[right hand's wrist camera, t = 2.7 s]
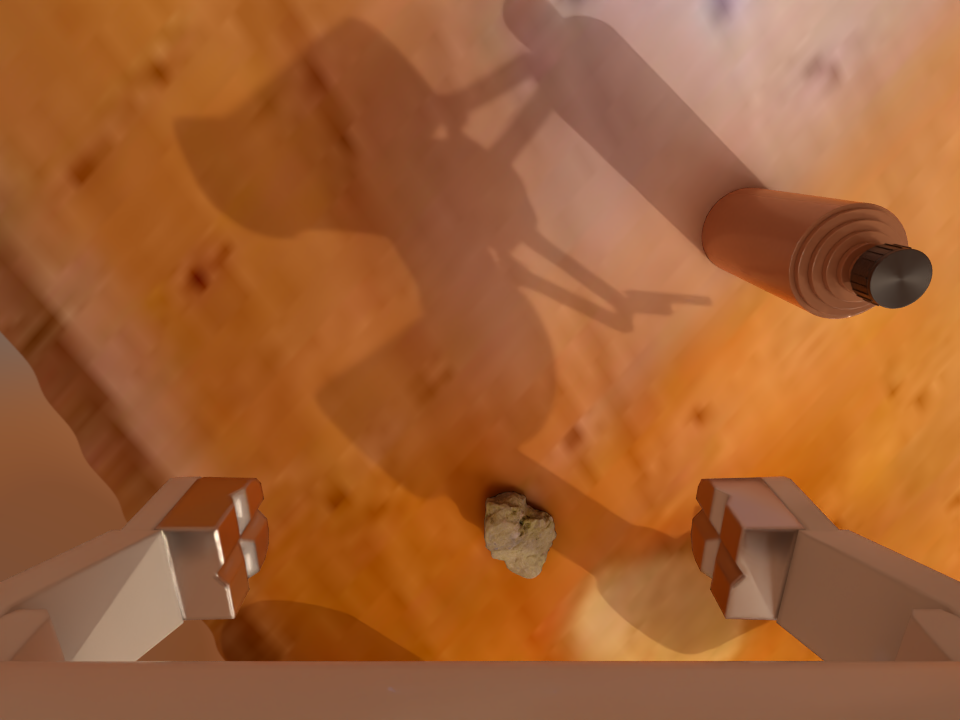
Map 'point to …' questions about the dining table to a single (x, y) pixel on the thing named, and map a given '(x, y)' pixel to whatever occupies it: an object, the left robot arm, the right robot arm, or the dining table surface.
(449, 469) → the dining table surface
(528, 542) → the rock
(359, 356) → the dining table surface
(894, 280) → the cap
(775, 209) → the bottle
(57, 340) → the dining table surface
